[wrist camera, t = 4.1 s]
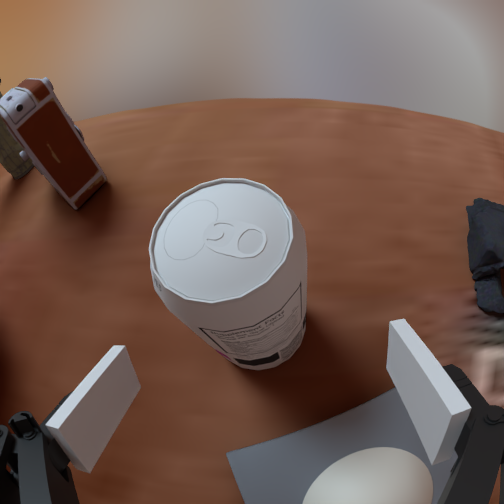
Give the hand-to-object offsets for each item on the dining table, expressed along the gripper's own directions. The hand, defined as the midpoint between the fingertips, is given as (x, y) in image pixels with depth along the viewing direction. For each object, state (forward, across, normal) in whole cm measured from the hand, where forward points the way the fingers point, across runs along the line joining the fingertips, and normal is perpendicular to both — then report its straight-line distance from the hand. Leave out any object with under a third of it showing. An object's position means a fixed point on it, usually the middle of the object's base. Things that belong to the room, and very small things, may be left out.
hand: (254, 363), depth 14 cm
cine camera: (+31, -31, +14) cm, 46 cm away
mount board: (0, +7, -17) cm, 18 cm away
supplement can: (+13, -1, -5) cm, 13 cm away
